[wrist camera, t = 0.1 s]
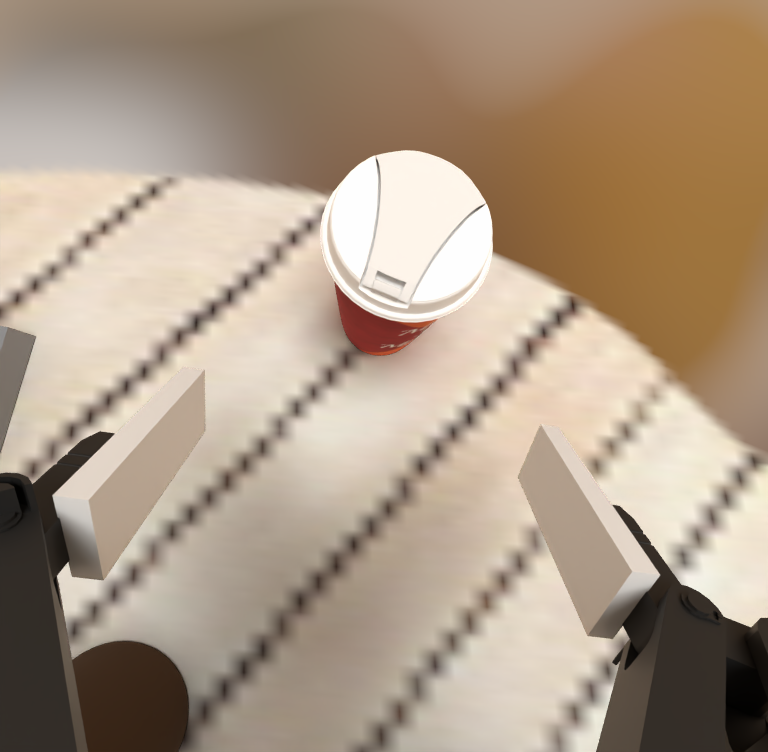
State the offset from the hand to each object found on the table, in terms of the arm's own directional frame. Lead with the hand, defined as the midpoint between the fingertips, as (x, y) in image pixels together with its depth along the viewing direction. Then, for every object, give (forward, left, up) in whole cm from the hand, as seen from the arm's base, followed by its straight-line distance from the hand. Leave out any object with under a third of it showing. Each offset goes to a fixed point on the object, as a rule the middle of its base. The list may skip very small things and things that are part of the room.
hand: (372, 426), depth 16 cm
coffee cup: (+9, 0, -16) cm, 18 cm away
